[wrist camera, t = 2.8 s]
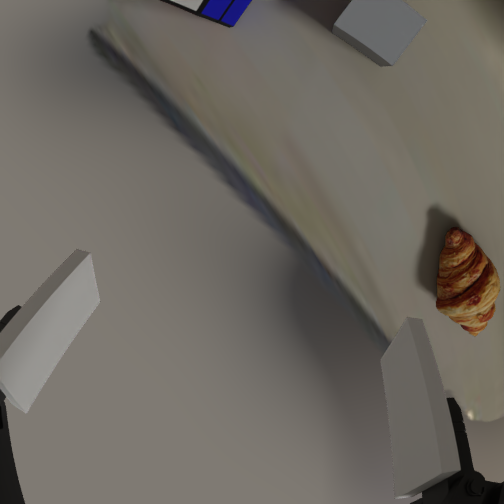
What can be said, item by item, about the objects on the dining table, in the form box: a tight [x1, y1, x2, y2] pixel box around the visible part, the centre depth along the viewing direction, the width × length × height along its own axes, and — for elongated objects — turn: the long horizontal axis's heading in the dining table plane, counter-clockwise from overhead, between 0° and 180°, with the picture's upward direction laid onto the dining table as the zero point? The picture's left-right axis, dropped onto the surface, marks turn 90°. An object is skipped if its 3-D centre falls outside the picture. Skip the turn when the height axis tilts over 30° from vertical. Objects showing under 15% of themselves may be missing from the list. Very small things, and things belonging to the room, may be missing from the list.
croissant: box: [436, 227, 500, 336], centre depth 34 cm, size 21×10×8 cm, turn 37°
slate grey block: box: [332, 0, 427, 67], centre depth 21 cm, size 6×6×6 cm
